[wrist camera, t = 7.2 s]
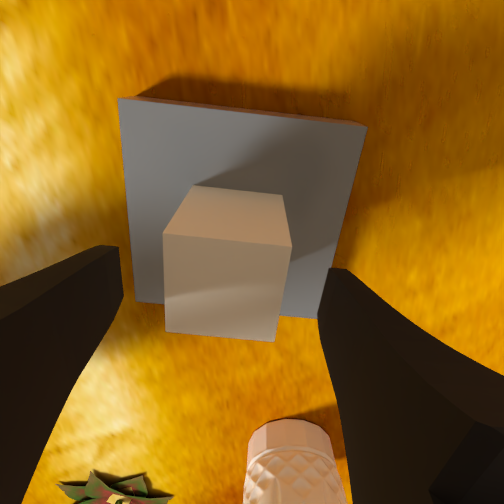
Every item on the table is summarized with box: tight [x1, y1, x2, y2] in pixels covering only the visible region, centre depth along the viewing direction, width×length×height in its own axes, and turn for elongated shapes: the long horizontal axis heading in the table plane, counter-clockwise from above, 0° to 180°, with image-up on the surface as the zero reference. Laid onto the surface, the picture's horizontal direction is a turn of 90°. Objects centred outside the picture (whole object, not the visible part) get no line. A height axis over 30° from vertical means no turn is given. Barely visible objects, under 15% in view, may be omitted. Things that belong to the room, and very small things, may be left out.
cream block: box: [163, 185, 292, 342], centre depth 13 cm, size 4×4×5 cm
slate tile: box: [118, 96, 368, 319], centre depth 16 cm, size 10×10×2 cm
